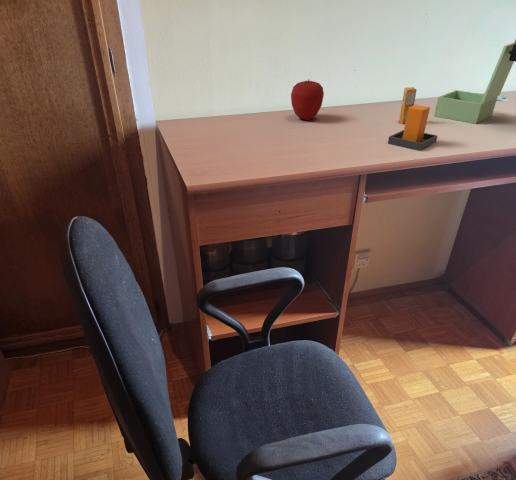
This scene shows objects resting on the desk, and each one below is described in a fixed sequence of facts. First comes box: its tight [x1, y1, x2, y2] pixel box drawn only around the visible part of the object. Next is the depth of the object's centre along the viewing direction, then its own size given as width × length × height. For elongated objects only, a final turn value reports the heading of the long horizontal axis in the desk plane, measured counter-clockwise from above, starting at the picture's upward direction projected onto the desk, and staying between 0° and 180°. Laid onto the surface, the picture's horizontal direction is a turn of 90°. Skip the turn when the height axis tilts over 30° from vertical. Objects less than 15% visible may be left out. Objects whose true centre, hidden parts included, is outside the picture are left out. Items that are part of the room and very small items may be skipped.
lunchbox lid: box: [481, 42, 515, 103], centre depth 140 cm, size 15×14×6 cm
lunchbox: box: [433, 89, 498, 125], centre depth 152 cm, size 15×14×6 cm
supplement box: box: [398, 86, 417, 125], centre depth 144 cm, size 3×3×10 cm
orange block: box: [402, 104, 431, 143], centre depth 128 cm, size 4×4×9 cm
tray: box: [387, 129, 438, 152], centre depth 131 cm, size 10×10×2 cm
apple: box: [290, 78, 325, 121], centre depth 147 cm, size 11×11×12 cm
